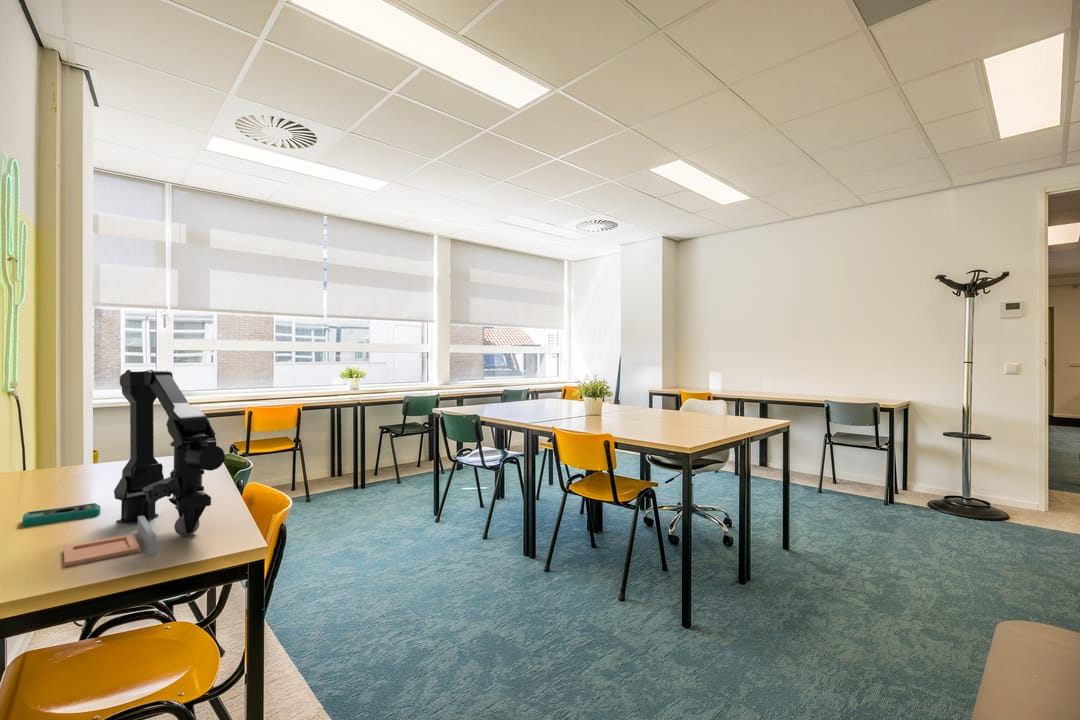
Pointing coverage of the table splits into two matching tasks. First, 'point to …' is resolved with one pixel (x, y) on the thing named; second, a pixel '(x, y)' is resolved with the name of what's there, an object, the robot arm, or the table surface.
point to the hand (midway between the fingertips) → (187, 530)
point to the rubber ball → (183, 527)
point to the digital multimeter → (60, 514)
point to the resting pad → (100, 550)
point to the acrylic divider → (147, 535)
